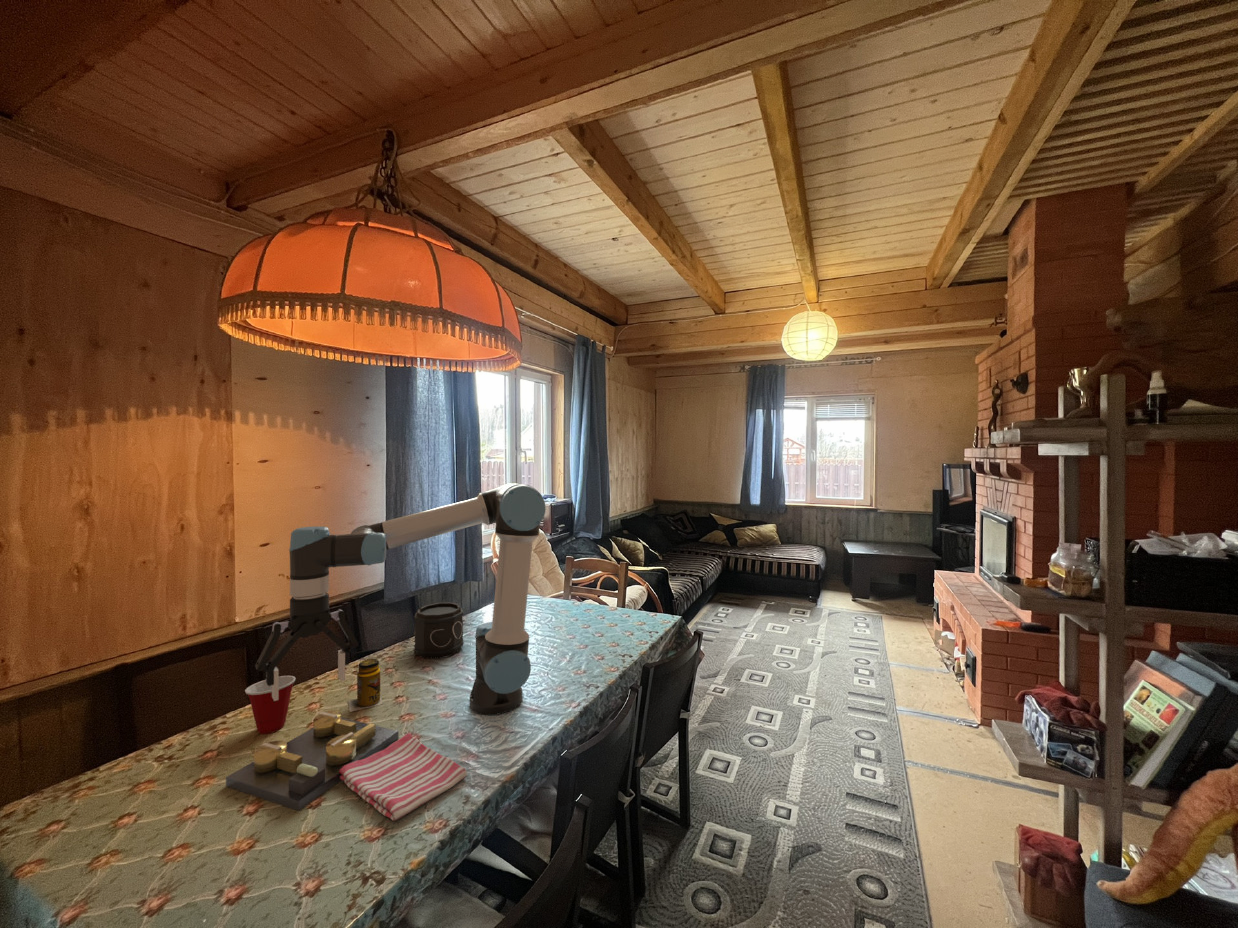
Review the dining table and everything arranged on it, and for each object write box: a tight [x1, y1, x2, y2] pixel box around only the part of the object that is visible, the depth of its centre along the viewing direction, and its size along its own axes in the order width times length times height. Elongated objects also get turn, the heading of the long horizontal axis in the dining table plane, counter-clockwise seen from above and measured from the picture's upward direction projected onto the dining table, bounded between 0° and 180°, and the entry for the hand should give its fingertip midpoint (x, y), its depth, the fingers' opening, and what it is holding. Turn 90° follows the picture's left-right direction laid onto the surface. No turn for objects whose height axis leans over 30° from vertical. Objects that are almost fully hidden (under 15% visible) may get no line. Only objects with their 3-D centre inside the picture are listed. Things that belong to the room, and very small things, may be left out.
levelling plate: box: [225, 717, 399, 812], centre depth 110 cm, size 22×26×2 cm
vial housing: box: [289, 764, 325, 795], centre depth 99 cm, size 5×5×4 cm
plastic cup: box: [244, 675, 296, 735], centre depth 124 cm, size 11×11×12 cm
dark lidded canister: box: [413, 602, 465, 660], centre depth 175 cm, size 18×18×16 cm
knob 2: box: [312, 709, 356, 737], centre depth 118 cm, size 12×6×4 cm, turn 71°
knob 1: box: [253, 739, 302, 773], centre depth 104 cm, size 12×6×4 cm, turn 71°
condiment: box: [347, 658, 384, 713], centre depth 137 cm, size 7×8×12 cm
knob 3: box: [326, 723, 376, 765], centre depth 110 cm, size 12×6×4 cm, turn 161°
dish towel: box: [339, 732, 468, 821], centre depth 103 cm, size 17×23×4 cm
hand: (309, 688), depth 107 cm, fingers open, 12 cm apart
